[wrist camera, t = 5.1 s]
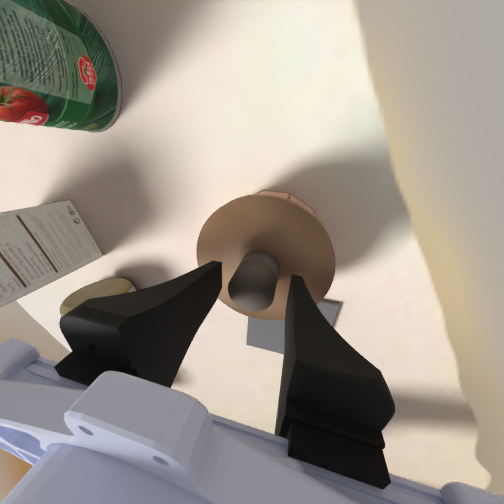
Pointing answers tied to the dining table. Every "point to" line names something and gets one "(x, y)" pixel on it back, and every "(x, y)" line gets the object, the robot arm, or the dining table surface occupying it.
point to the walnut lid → (266, 253)
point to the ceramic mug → (96, 292)
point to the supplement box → (41, 247)
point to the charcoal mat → (281, 328)
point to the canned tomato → (56, 67)
